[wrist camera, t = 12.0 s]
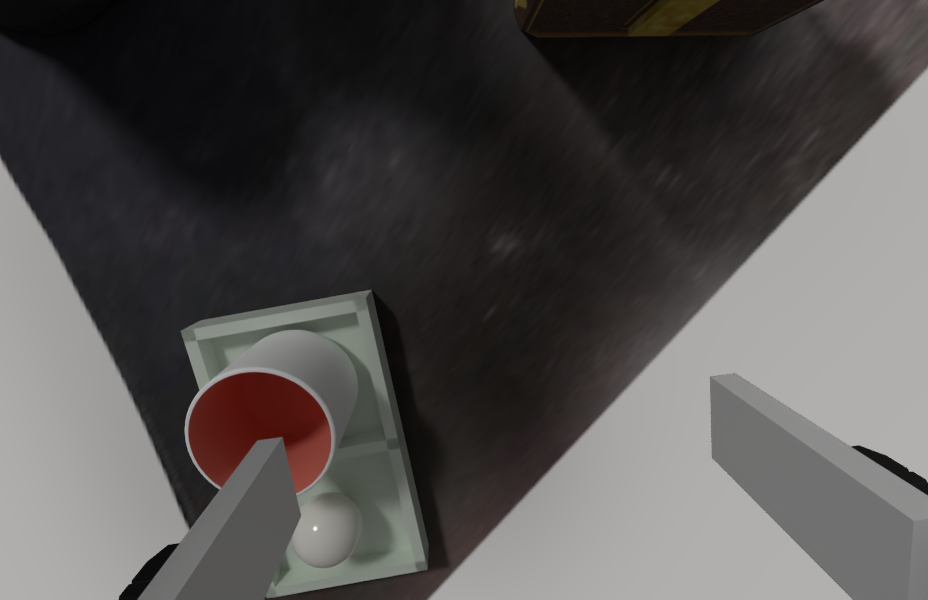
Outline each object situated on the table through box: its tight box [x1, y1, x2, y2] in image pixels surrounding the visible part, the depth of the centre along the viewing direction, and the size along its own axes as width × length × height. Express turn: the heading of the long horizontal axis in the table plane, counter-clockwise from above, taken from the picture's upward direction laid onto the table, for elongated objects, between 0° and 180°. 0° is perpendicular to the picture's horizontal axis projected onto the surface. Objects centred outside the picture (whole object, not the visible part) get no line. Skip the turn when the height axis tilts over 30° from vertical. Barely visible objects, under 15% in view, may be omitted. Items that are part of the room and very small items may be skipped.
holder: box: [181, 290, 429, 598], centre depth 43 cm, size 26×15×3 cm, turn 10°
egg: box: [291, 492, 363, 568], centre depth 42 cm, size 6×6×6 cm
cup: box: [185, 330, 358, 496], centre depth 37 cm, size 10×10×10 cm
